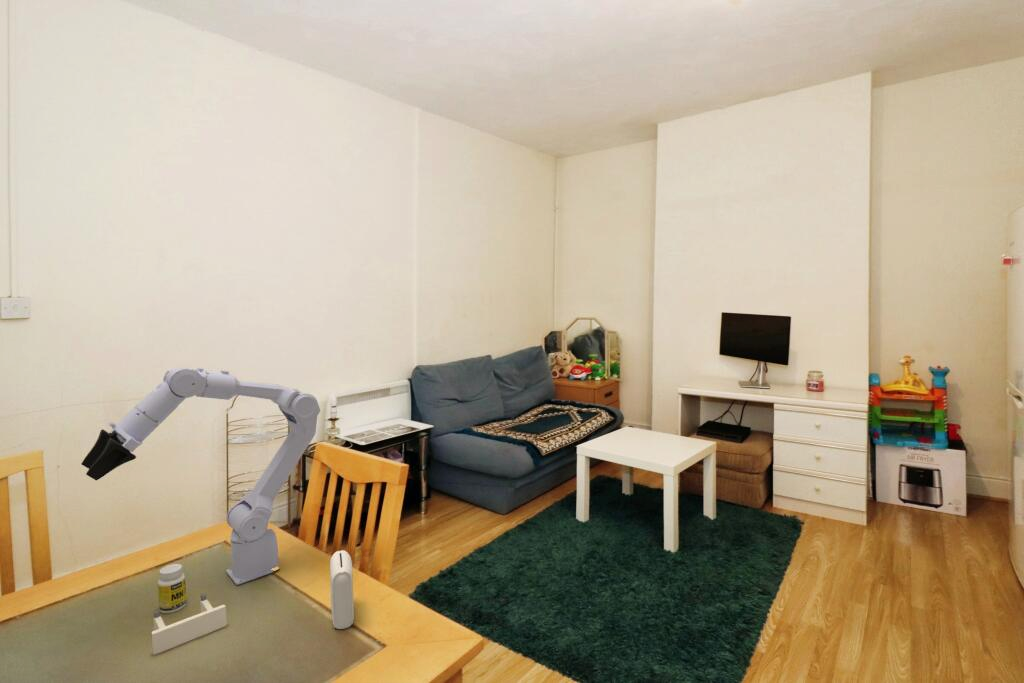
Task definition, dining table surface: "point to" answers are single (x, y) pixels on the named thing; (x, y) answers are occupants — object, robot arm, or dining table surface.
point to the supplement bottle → (171, 588)
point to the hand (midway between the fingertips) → (88, 472)
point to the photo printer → (341, 590)
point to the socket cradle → (187, 626)
